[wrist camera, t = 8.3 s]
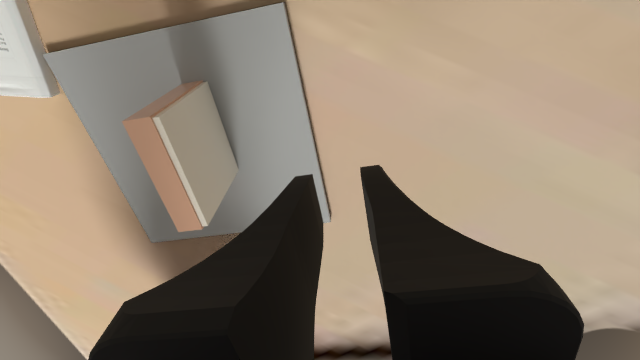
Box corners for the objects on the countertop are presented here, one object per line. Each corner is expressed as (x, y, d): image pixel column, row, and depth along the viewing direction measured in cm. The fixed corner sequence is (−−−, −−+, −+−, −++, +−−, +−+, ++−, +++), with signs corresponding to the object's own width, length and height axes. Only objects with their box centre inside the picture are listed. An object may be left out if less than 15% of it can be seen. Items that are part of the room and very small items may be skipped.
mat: (330, 218, 24) (330, 222, 23) (154, 239, 26) (151, 242, 25) (284, 1, 17) (283, 2, 17) (47, 53, 19) (42, 54, 19)
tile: (239, 170, 22) (207, 228, 17) (216, 173, 22) (178, 232, 17) (207, 79, 19) (156, 115, 14) (181, 84, 19) (121, 121, 14)
